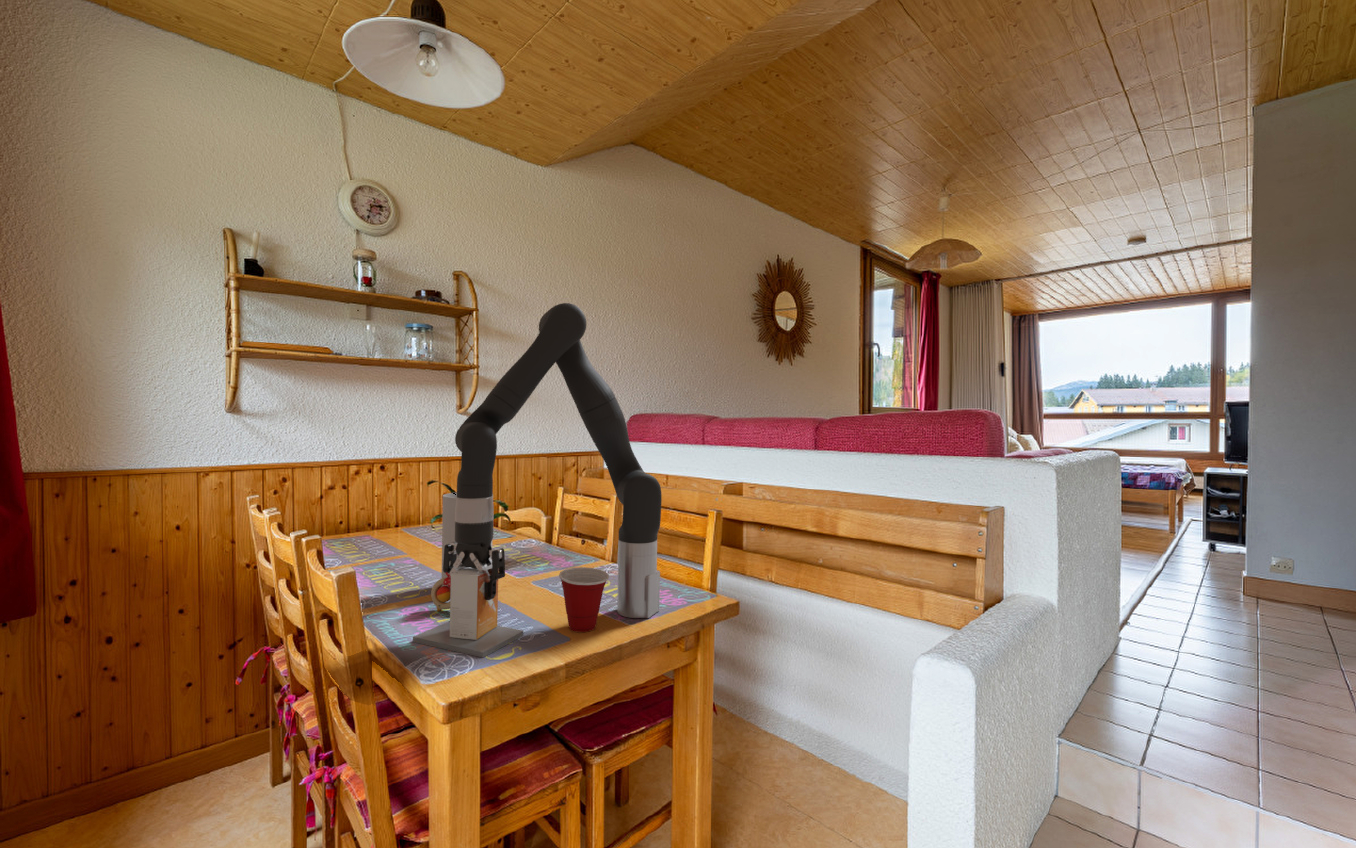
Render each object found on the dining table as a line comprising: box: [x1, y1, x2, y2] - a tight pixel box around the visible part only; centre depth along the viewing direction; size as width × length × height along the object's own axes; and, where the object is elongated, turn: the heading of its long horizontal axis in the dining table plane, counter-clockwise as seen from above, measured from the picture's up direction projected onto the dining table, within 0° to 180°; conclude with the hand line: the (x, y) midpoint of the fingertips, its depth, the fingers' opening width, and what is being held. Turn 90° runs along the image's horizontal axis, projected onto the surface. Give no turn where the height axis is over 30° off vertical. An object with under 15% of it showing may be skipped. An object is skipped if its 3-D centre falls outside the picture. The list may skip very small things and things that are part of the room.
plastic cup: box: [558, 566, 610, 633], centre depth 121 cm, size 11×11×12 cm
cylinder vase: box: [441, 492, 493, 588], centre depth 148 cm, size 12×12×25 cm
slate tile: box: [412, 620, 525, 658], centre depth 114 cm, size 18×12×1 cm, turn 68°
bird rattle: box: [430, 573, 451, 612], centre depth 131 cm, size 6×11×9 cm
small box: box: [449, 565, 499, 640], centre depth 115 cm, size 8×6×13 cm
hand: (473, 596), depth 115 cm, fingers open, 8 cm apart
